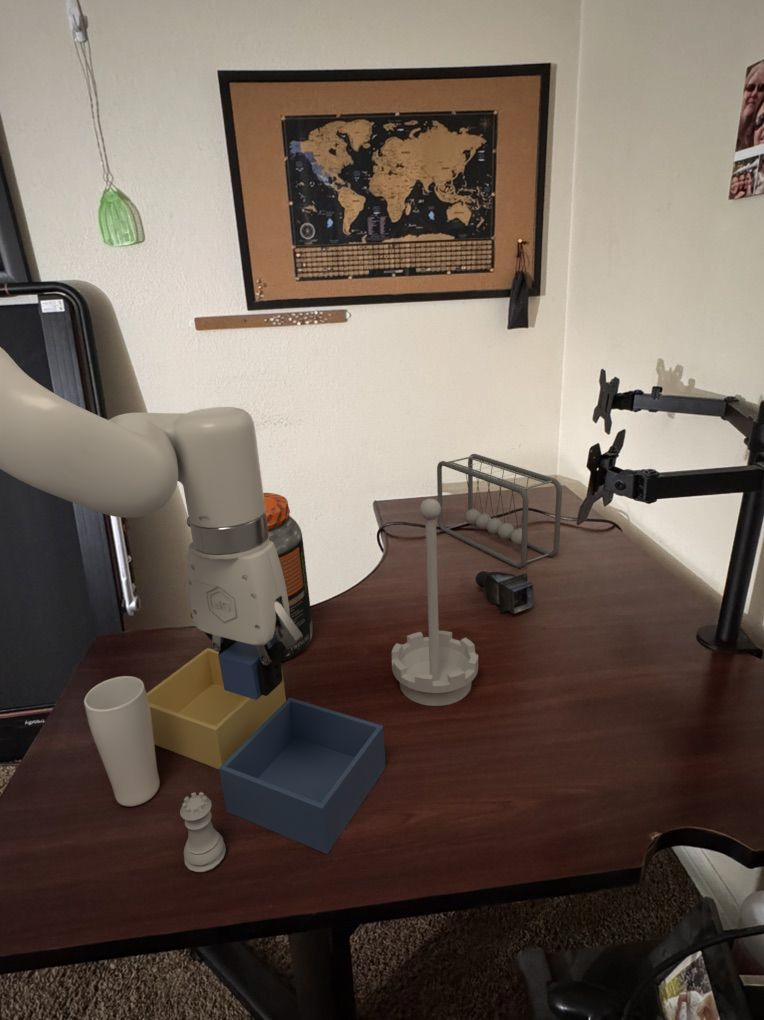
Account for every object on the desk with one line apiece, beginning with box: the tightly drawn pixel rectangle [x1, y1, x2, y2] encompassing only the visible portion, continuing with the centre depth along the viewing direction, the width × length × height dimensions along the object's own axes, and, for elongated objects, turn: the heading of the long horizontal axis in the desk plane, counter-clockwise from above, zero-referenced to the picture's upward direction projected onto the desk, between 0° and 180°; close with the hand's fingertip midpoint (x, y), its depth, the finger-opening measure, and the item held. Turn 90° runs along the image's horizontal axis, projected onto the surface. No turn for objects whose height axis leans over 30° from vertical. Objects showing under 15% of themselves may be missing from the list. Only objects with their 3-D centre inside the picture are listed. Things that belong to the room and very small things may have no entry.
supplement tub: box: [263, 492, 314, 662], centre depth 105 cm, size 16×16×26 cm
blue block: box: [219, 641, 272, 700], centre depth 69 cm, size 4×4×4 cm
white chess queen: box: [179, 791, 227, 873], centre depth 68 cm, size 4×4×8 cm
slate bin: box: [218, 697, 387, 855], centre depth 77 cm, size 14×14×7 cm
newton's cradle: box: [436, 453, 563, 569], centre depth 142 cm, size 30×10×18 cm, turn 32°
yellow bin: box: [146, 647, 287, 770], centre depth 89 cm, size 14×14×7 cm
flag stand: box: [391, 498, 479, 707], centre depth 91 cm, size 13×13×30 cm
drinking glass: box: [83, 675, 161, 807], centre depth 76 cm, size 7×7×15 cm
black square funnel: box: [475, 570, 534, 615], centre depth 118 cm, size 6×13×6 cm, turn 30°
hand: (252, 681), depth 70 cm, fingers closed on blue block, 4 cm apart
